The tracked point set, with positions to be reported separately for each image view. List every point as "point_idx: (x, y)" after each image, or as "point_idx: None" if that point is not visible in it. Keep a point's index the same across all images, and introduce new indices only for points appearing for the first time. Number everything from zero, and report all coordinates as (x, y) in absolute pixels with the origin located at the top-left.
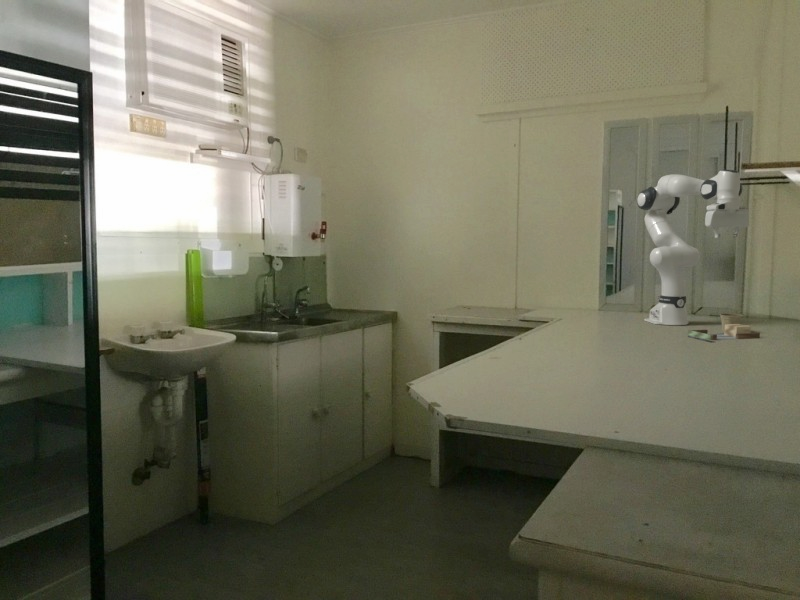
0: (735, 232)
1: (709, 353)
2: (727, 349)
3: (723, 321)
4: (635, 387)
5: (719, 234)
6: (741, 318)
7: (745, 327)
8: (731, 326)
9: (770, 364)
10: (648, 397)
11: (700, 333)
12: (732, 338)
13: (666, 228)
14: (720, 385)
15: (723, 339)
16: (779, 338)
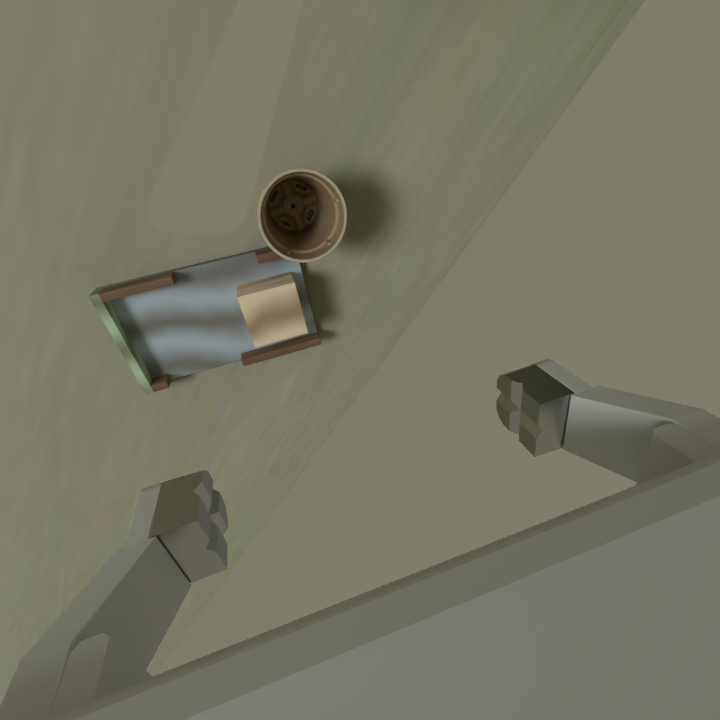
0: (594, 410)
1: (96, 517)
2: (162, 468)
3: (266, 220)
4: None
5: (206, 562)
6: (330, 242)
7: (287, 337)
8: (247, 326)
9: None
10: None
11: (123, 354)
12: (230, 355)
13: None
14: None
15: (195, 372)
16: (389, 304)
